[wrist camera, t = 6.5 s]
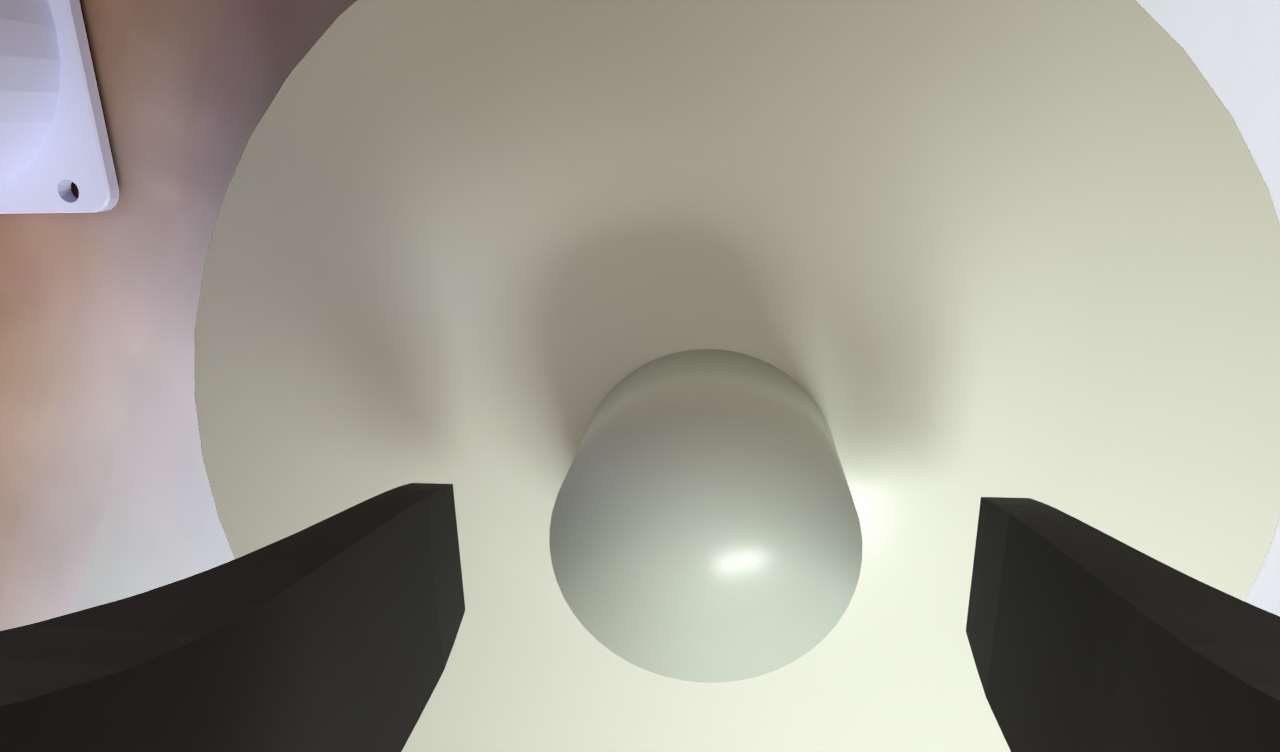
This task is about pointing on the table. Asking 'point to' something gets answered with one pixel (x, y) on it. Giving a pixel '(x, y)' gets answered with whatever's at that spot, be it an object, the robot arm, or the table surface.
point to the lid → (742, 341)
